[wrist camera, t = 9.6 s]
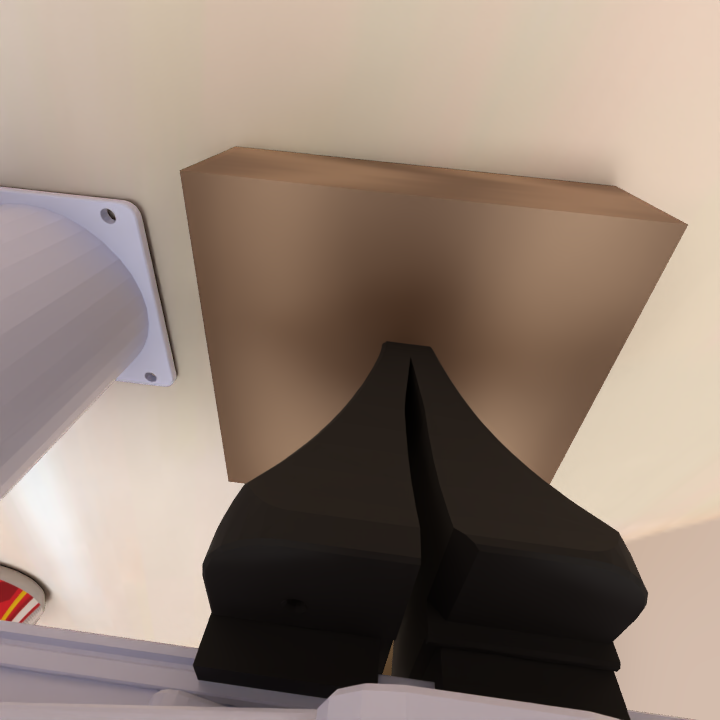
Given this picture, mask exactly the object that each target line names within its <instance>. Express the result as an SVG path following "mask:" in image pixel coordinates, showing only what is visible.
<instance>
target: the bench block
mask: <svg viewBox="0 0 720 720" xmlns="http://www.w3.org/2000/svg"><path fill="white" fill-rule="evenodd" d="M180 175H181V181H182V188H183V194H184V200H185V207H186V213H187V219H188V226H189V232H190V239H191V245H192V251H193V258H194V264H195V270H196V277H197V283H198V289H199V296H200V302H201V309H202V315H203V321H204V328H205V334H206V340H207V347H208V353H209V360H210V366H211V372H212V379H213V385H214V391H215V398H216V404H217V411H218V417H219V423H220V430H221V436H222V442H223V449H224V455H225V461H226V468H227V474H228V481H230V482H237V483H245V484H246V483H247V482H249V481H251V480H252V479H254V478H256V477H257V476H259V475H261V474H262V473H264V472H265V471H267V470H269V469H270V468H272V467H274V466H275V465H277V464H278V463H280V462H281V461H283V460H284V459H286V458H287V457H288V456H290V455H291V454H292V453H294V452H295V451H296V450H298V449H299V448H300V447H302V446H303V445H304V444H306V443H307V442H308V441H310V440H311V439H312V438H313V437H314V436H315V435H317V434H318V433H319V432H320V431H321V430H322V429H323V428H324V427H325V426H326V425H327V424H328V423H330V422H331V421H332V420H333V419H334V418H335V417H336V415H337V414H338V413H339V412H340V411H341V410H342V409H343V408H344V407H345V406H346V404H347V403H348V402H349V401H350V400H351V399H352V397H353V396H354V395H355V393H356V392H357V391H358V389H359V388H360V387H361V385H362V384H363V382H364V381H365V379H366V378H367V376H368V375H369V373H370V371H371V370H372V368H373V366H374V365H375V363H376V361H377V359H378V356H379V354H380V351H381V348H382V344H383V343H385V342H386V341H390V342H398V343H406V344H414V345H422V346H430V347H431V348H432V349H433V351H434V352H435V354H436V356H437V358H438V360H439V361H440V363H441V365H442V367H443V368H444V370H445V371H446V373H447V375H448V376H449V378H450V380H451V381H452V383H453V384H454V386H455V387H456V389H457V390H458V391H459V393H460V394H461V396H462V397H463V399H464V400H465V401H466V403H467V404H468V405H469V407H470V408H471V409H472V411H473V412H474V413H475V414H476V416H477V417H478V418H479V419H480V420H481V422H482V423H483V424H484V425H485V426H486V427H487V428H488V429H489V430H490V431H491V432H492V434H493V435H494V436H495V437H496V438H497V439H498V440H499V441H500V442H501V443H502V444H503V445H504V446H505V447H506V448H507V449H508V450H509V451H510V452H511V453H513V454H514V455H515V456H516V457H517V458H518V459H519V460H520V461H522V462H523V463H524V464H525V465H526V466H527V467H528V468H529V469H531V470H532V471H533V472H534V473H536V474H537V475H538V476H539V477H541V478H542V479H543V480H544V481H545V482H547V483H548V484H550V483H551V481H552V479H553V477H554V475H555V473H556V471H557V469H558V468H559V466H560V464H561V462H562V460H563V458H564V456H565V454H566V453H567V451H568V449H569V447H570V445H571V443H572V441H573V439H574V438H575V436H576V434H577V432H578V430H579V428H580V426H581V424H582V423H583V421H584V419H585V417H586V415H587V413H588V411H589V409H590V408H591V406H592V404H593V402H594V400H595V398H596V396H597V394H598V393H599V391H600V389H601V387H602V385H603V383H604V381H605V379H606V378H607V376H608V374H609V372H610V370H611V368H612V366H613V364H614V363H615V361H616V359H617V357H618V355H619V353H620V351H621V349H622V348H623V346H624V344H625V342H626V340H627V338H628V336H629V334H630V333H631V331H632V329H633V327H634V325H635V323H636V321H637V319H638V318H639V316H640V314H641V312H642V310H643V308H644V306H645V304H646V303H647V301H648V299H649V297H650V295H651V293H652V291H653V289H654V288H655V286H656V284H657V282H658V280H659V278H660V276H661V274H662V273H663V271H664V269H665V267H666V265H667V263H668V261H669V259H670V258H671V256H672V254H673V252H674V250H675V248H676V246H677V244H678V243H679V241H680V239H681V237H682V235H683V233H684V231H685V229H686V228H687V226H688V224H686V223H684V222H682V221H680V220H678V219H676V218H674V217H673V216H671V215H669V214H667V213H665V212H663V211H661V210H659V209H658V208H656V207H654V206H652V205H650V204H648V203H646V202H644V201H643V200H641V199H639V198H637V197H635V196H633V195H631V194H629V193H628V192H626V191H624V190H622V189H620V188H618V187H616V186H608V185H599V184H589V183H579V182H570V181H560V180H551V179H541V178H532V177H522V176H513V175H503V174H493V173H484V172H474V171H465V170H455V169H446V168H436V167H426V166H417V165H407V164H398V163H388V162H379V161H369V160H360V159H350V158H340V157H331V156H321V155H312V154H302V153H293V152H283V151H274V150H264V149H254V148H245V147H234V148H231V149H229V150H227V151H224V152H222V153H220V154H217V155H215V156H213V157H210V158H208V159H206V160H203V161H201V162H199V163H196V164H194V165H192V166H189V167H187V168H185V169H182V170H180Z"/></svg>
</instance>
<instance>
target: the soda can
mask: <svg viewBox="0 0 720 720" xmlns="http://www.w3.org/2000/svg"><path fill="white" fill-rule="evenodd" d="M44 609H45V595H44V591H43V590H42V588H41V587H40V586H39V585H38V584H37V583H36V582H35V581H34V580H32V579H31V578H29V577H27V576H26V575H24V574H22V573H20V572H18V571H15V570H13V569H10V568H7V567H4V566H0V620H4V621H11V622H18V623H25V624H32V625H35V624H36V623H37V621H38V620H39V618H40V617H41V615H42V614H43V612H44Z"/></svg>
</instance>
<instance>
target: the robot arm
mask: <svg viewBox="0 0 720 720" xmlns="http://www.w3.org/2000/svg"><path fill="white" fill-rule="evenodd" d="M107 209H109V210H111V211H112V212H113V213H114V215H115V217H116V220H113V219H112V218H111V217H110V216H109V215H108V213H107ZM151 373H153V374H154V375H155V376H153V375H152V374H151ZM175 380H176V371H175V366H174V362H173V357H172V352H171V348H170V343H169V339H168V334H167V330H166V325H165V320H164V316H163V311H162V307H161V302H160V298H159V293H158V289H157V284H156V279H155V275H154V270H153V266H152V261H151V257H150V252H149V247H148V243H147V238H146V234H145V229H144V225H143V220H142V216H141V213H140V211H139V210H138V208H137V207H136V206H135V205H134V204H132V203H131V202H129V201H125V200H118V199H109V198H99V197H90V196H81V195H72V194H63V193H53V192H44V191H35V190H26V189H17V188H8V187H0V501H1V500H2V499H3V498H4V497H5V496H6V494H7V493H8V492H9V491H10V490H11V489H12V488H13V487H14V486H15V485H16V484H17V483H18V482H19V481H20V480H21V479H22V478H23V477H24V476H25V474H26V473H27V472H28V471H29V470H30V469H31V468H32V467H33V466H34V465H35V464H36V463H37V462H38V461H39V460H40V459H41V458H42V457H43V455H44V454H45V453H46V452H47V451H48V450H49V449H50V448H51V447H52V446H53V445H54V444H55V443H56V442H57V441H58V440H59V439H60V438H61V436H62V435H63V434H64V433H65V432H66V431H67V430H68V429H69V428H70V427H71V426H72V425H73V424H74V423H75V422H76V421H77V420H78V419H79V418H80V416H81V415H82V414H83V413H84V412H85V411H86V410H87V409H88V408H89V407H90V406H91V405H92V404H93V403H94V402H95V401H96V400H97V399H98V397H99V396H100V395H101V394H102V393H103V392H104V391H105V390H106V389H107V388H108V387H109V386H110V385H111V384H112V383H113V382H114V381H122V382H130V383H139V384H147V385H155V386H163V387H168V386H171V385H172V384H173V382H174V381H175ZM203 579H204V583H205V587H206V592H207V596H208V600H209V604H210V608H211V612H212V613H211V615H210V618H209V621H208V624H207V627H206V629H205V632H204V635H203V638H202V640H201V643H200V646H199V648H192V647H185V646H178V645H171V644H164V643H157V642H150V641H143V640H136V639H129V638H122V637H116V636H109V635H102V634H95V633H88V632H81V631H74V630H67V629H60V628H53V627H46V626H39V625H32V624H25V623H18V622H11V621H4V620H0V720H694V719H687V718H680V717H673V716H666V715H660V714H653V713H646V712H638V711H631V710H627V708H626V705H625V702H624V699H623V697H622V693H621V691H620V688H619V685H618V682H617V679H616V676H615V673H614V671H616V672H617V671H618V670H619V669H620V660H619V657H618V654H617V652H616V649H615V646H614V643H613V641H614V640H615V639H616V638H617V637H618V636H619V635H620V634H621V633H622V632H623V631H624V630H625V629H626V628H627V627H628V626H629V625H630V624H631V623H632V622H634V621H635V620H636V619H637V617H638V616H639V615H640V613H641V612H642V611H643V609H644V608H645V606H646V604H647V597H648V592H647V590H646V588H645V586H644V584H643V581H642V579H641V577H640V574H639V572H638V570H637V567H636V565H635V563H634V561H633V558H632V556H631V554H630V552H629V550H628V549H627V547H626V545H625V543H624V541H623V539H622V538H621V536H620V534H619V532H618V531H616V530H615V529H613V528H612V527H610V526H609V525H607V524H606V523H604V522H603V521H601V520H600V519H598V518H596V517H595V516H593V515H592V514H590V513H589V512H587V511H586V510H584V509H583V508H581V507H580V506H578V505H577V504H575V503H574V502H572V501H571V500H569V499H568V498H567V497H565V496H564V495H563V494H561V493H560V492H559V491H557V490H556V489H555V488H553V487H552V486H551V485H549V484H548V483H547V482H545V481H544V480H543V479H542V478H541V477H539V476H538V475H537V474H536V473H534V472H533V471H532V470H531V469H529V468H528V467H527V466H526V465H525V464H524V463H523V462H522V461H520V460H519V459H518V458H517V457H516V456H515V455H514V454H513V453H511V452H510V451H509V450H508V449H507V448H506V447H505V446H504V445H503V444H502V443H501V442H500V441H499V440H498V439H497V438H496V437H495V436H494V435H493V434H492V432H491V431H490V430H489V429H488V428H487V427H486V426H485V425H484V424H483V423H482V422H481V420H480V419H479V418H478V417H477V416H476V414H475V413H474V412H473V411H472V409H471V408H470V407H469V405H468V404H467V403H466V401H465V400H464V399H463V397H462V396H461V394H460V393H459V391H458V390H457V389H456V387H455V386H454V384H453V383H452V381H451V380H450V378H449V376H448V375H447V373H446V371H445V370H444V368H443V367H442V365H441V363H440V361H439V360H438V358H437V356H436V354H435V352H434V351H433V349H432V348H431V347H430V346H422V345H414V344H406V343H398V342H390V341H386V342H385V343H383V344H382V348H381V351H380V354H379V356H378V359H377V361H376V363H375V365H374V366H373V368H372V370H371V371H370V373H369V375H368V376H367V378H366V379H365V381H364V382H363V384H362V385H361V387H360V388H359V389H358V391H357V392H356V393H355V395H354V396H353V397H352V399H351V400H350V401H349V402H348V403H347V404H346V406H345V407H344V408H343V409H342V410H341V411H340V412H339V413H338V414H337V415H336V417H335V418H334V419H333V420H332V421H331V422H330V423H328V424H327V425H326V426H325V427H324V428H323V429H322V430H321V431H320V432H319V433H318V434H317V435H315V436H314V437H313V438H312V439H311V440H310V441H308V442H307V443H306V444H304V445H303V446H302V447H300V448H299V449H298V450H296V451H295V452H294V453H292V454H291V455H290V456H288V457H287V458H286V459H284V460H283V461H281V462H280V463H278V464H277V465H275V466H274V467H272V468H270V469H269V470H267V471H265V472H264V473H262V474H261V475H259V476H257V477H256V478H254V479H252V480H251V481H249V482H247V483H246V484H245V485H244V486H243V487H242V489H241V490H240V492H239V493H238V495H237V496H236V498H235V499H234V501H233V502H232V504H231V505H230V507H229V509H228V510H227V512H226V514H225V515H224V517H223V519H222V521H221V523H220V524H219V526H218V528H217V530H216V533H215V535H214V537H213V540H212V542H211V545H210V547H209V550H208V552H207V555H206V557H205V559H204V562H203ZM393 640H394V645H393V646H394V647H393V660H392V675H391V676H388V675H382V673H383V670H384V667H385V664H386V661H387V658H388V654H389V651H390V648H391V645H392V642H393Z"/></svg>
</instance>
